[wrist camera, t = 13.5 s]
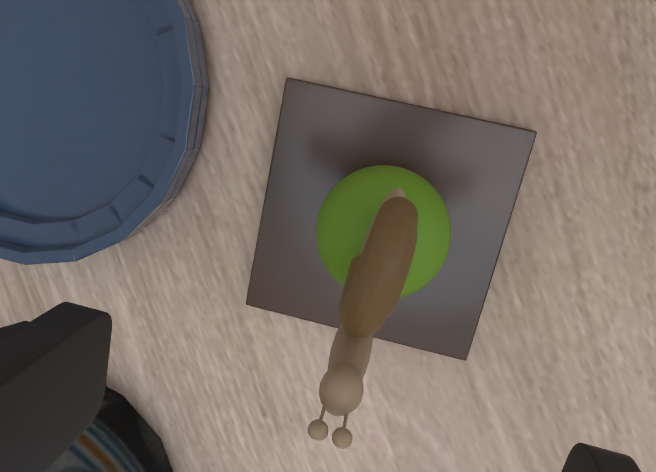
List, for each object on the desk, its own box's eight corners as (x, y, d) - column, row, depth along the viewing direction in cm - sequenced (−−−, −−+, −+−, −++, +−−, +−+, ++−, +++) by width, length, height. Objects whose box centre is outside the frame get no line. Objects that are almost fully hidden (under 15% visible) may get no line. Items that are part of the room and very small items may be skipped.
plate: (-127, -157, 24) (-178, -181, 22) (238, -86, 23) (221, -106, 21) (-120, 208, 29) (-162, 217, 27) (184, 286, 27) (165, 301, 25)
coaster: (289, 77, 24) (286, 77, 24) (534, 131, 23) (537, 131, 23) (248, 300, 27) (245, 304, 26) (464, 355, 26) (466, 361, 26)
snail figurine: (307, 274, 26) (227, 416, 14) (344, 143, 24) (286, 183, 12) (417, 308, 25) (426, 482, 14) (463, 178, 24) (516, 252, 12)
